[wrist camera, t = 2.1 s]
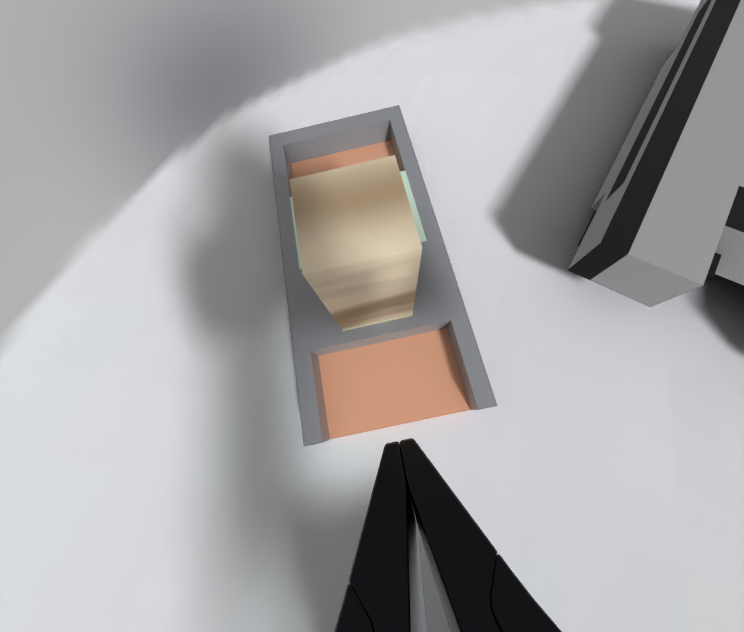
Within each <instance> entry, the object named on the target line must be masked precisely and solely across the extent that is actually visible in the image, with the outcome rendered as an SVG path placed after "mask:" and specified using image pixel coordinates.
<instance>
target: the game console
mask: <svg viewBox="0 0 744 632" xmlns="http://www.w3.org/2000/svg"><path fill="white" fill-rule="evenodd" d="M591 209H594V210H595V212H594V214H593V216H592V218H591V220H590V222H589V224H588V226H587V228H586V230H585V232H584V234H583V236H582V238H581V240H580V242H579V244H578V246H579V248H578V250H577V252H576V254H575V256H574V258H573V260H572V262H571V264H570V266H569V268H568V270H569V271H571V272H573V273H575V274H578V275H580V276H582V277H584V278H587V279H589V280H591V281H593V282H595V283H598V284H600V285H602V286H604V287H607V288H609V289H611V290H613V291H616V292H618V293H620V294H622V295H624V296H627V297H629V298H631V299H633V300H636V301H638V302H640V303H642V304H645V305H647V306H649V307H651V306H654V305H656V304H659V303H661V302H664V301H666V300H669V299H671V298H674V297H676V296H678V295H681V294H683V293H686V292H688V291H691V290H693V289H696V288H698V287H701V286H703V285H704V282H705V280H707V279H710V278H712V277H714V275H715V274H716V275H719V276H721V277H724V278H726V279H729V280H731V281H734V282H736V283H739V284H741V285H744V0H701V1H700V3H699V5H698V8H697V10H696V12H695V14H694V16H693V18H692V20H691V22H690V24H689V26H688V28H687V30H686V32H685V34H684V36H683V38H682V40H681V42H680V43H679V44H678V46H677V47H676V48H675V50H674V51H673V52H672V54H671V55H670V56H669V57H668V59H667V60H666V61H665V63H664V64H663V66H662V68H661V70H660V72H659V74H658V76H657V78H656V79H655V81H654V83H653V85H652V87H651V89H650V91H649V93H648V95H647V97H646V99H645V101H644V103H643V105H642V107H641V109H640V111H639V113H638V115H637V117H636V119H635V121H634V123H633V125H632V127H631V129H630V131H629V133H628V135H627V137H626V139H625V141H624V143H623V145H622V147H621V149H620V151H619V153H618V155H617V157H616V159H615V161H614V163H613V165H612V167H611V169H610V171H609V173H608V175H607V177H606V179H605V181H604V183H603V185H602V187H601V189H600V191H599V193H598V195H597V197H596V199H595V201H594V203H593V205H592V207H591Z"/></svg>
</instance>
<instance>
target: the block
mask: <svg viewBox="0 0 744 632" xmlns="http://www.w3.org/2000/svg"><path fill="white" fill-rule="evenodd" d="M290 186H291V193H292V201H293V208H294V216H295V223H296V230H297V238H298V245H299V253H300V260H301V267H302V274H303V276H304V277H305V279H306V280H307V281H308V283H309V284H310V286H311V287H312V288H313V290H314V291H315V293H316V294H317V295H318V297H319V298H320V300H321V301H322V302H323V304H324V305H325V307H326V308H327V309H328V311H329V312H330V313H331V315H332V316H333V318H334V319H335V320H336V322H337V323H338V325H339V326H340V327H341V329H342V330H343V331H345V330H350V329H354V328H359V327H363V326H368V325H373V324H377V323H382V322H386V321H391V320H395V319H400V318H405V317H409V316H412V315H413V308H414V301H415V294H416V288H417V281H418V274H419V267H420V260H421V254H422V244H421V241H420V238H419V234H418V231H417V228H416V224H415V221H414V217H413V214H412V211H411V207H410V204H409V201H408V197H407V194H406V190H405V187H404V184H403V180H402V177H401V174H400V170H399V167H398V164H397V160H396V157H395V155H393V156H389V157H384V158H380V159H376V160H371V161H367V162H363V163H358V164H354V165H350V166H345V167H341V168H337V169H332V170H328V171H324V172H319V173H315V174H311V175H307V176H302V177H298V178H294V179H290Z"/></svg>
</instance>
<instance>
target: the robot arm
mask: <svg viewBox="0 0 744 632" xmlns="http://www.w3.org/2000/svg"><path fill="white" fill-rule="evenodd" d="M400 447H401V448H400ZM413 508H414V509H413ZM414 512H415V514H414ZM415 517H416V519H415ZM416 521H417V525H418V528H419V532H420V535H421V538H422V541H423V544H424V548H425V551H426V554H427V557H428V560H429V563H430V566H431V570H432V573H433V576H434V579H435V582H436V585H437V589H438V592H439V595H440V598H441V601H442V604H443V608H444V611H445V614H446V617H447V620H448V623H449V626H450V630H451V632H561V630H560V629H559V628H558V627H557V626H556V625H555V623H554V622H553V621H552V620H551V619H550V617H549V616H548V615H547V614H546V613H545V612H544V610H543V609H542V608H541V607H540V606H539V605H538V603H537V602H536V601H535V600H534V599H533V597H532V596H531V595H530V594H529V592H528V591H527V590H526V588H525V587H524V586H523V585H522V583H521V582H520V581H519V579H518V578H517V577H516V576H515V574H514V573H513V572H512V570H511V569H510V568H509V566H508V565H507V564H506V562H505V561H504V560H503V558H502V557H501V556H500V555H499V554H498V555H497V550H496V549H495V548H494V546H493V545H492V544H491V542H490V541H489V540H488V538H487V537H486V536H485V534H484V533H483V532H482V530H481V529H480V528H479V526H478V525H477V524H476V522H475V521H474V519H473V518H472V517H471V515H470V514H469V513H468V511H467V510H466V509H465V507H464V506H463V505H462V503H461V502H460V501H459V499H458V498H457V497H456V495H455V494H454V493H453V491H452V490H451V489H450V487H449V486H448V484H447V483H446V482H445V480H444V479H443V478H442V476H441V475H440V474H439V472H438V471H437V470H436V468H435V467H434V466H433V464H432V463H431V462H430V460H429V459H428V458H427V456H426V455H425V453H424V452H423V451H422V449H421V448H420V447H419V445H418V444H417V443H416V441H415V440H414V439H412V438H411V439H406V440H402V441H400V444H399V442H392V443H387V444H386V445H385V447H384V450H383V454H382V458H381V461H380V465H379V469H378V473H377V476H376V480H375V484H374V488H373V491H372V495H371V499H370V503H369V506H368V510H367V514H366V518H365V522H364V525H363V529H362V533H361V537H360V540H359V544H358V548H357V552H356V555H355V559H354V563H353V567H352V570H351V574H350V578H349V583H350V584H348V585H347V589H346V592H345V596H344V600H343V604H342V607H341V611H340V614H339V618H338V621H337V624H336V628H335V631H334V632H427V624H426V614H425V604H424V594H423V584H422V574H421V563H420V553H419V543H418V533H417V525H416Z"/></svg>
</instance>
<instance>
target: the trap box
mask: <svg viewBox="0 0 744 632" xmlns="http://www.w3.org/2000/svg"><path fill="white" fill-rule="evenodd" d="M269 141H270V150H271V158H272V167H273V176H274V185H275V194H276V203H277V212H278V221H279V230H280V238H281V247H282V256H283V265H284V274H285V283H286V292H287V301H288V309H289V318H290V327H291V336H292V345H293V354H294V363H295V372H296V381H297V389H298V398H299V407H300V416H301V425H302V434H303V443H304V446H308V445H313V444H318V443H322V442H325V441H327V440H329V439H333V438H338V437H342V436H347V435H352V434H357V433H361V432H366V431H371V430H376V429H381V428H385V427H390V426H395V425H400V424H404V423H409V422H414V421H419V420H423V419H428V418H433V417H438V416H442V415H447V414H452V413H457V412H461V411H466V410H479V409H484V408H489V407H494V406H497V404H496V400H495V397H494V394H493V391H492V388H491V385H490V382H489V379H488V376H487V373H486V370H485V367H484V364H483V361H482V358H481V355H480V351H479V348H478V345H477V342H476V339H475V336H474V333H473V330H472V327H471V324H470V321H469V318H468V315H467V312H466V309H465V306H464V302H463V299H462V296H461V293H460V290H459V287H458V284H457V281H456V278H455V275H454V272H453V269H452V266H451V263H450V260H449V257H448V253H447V250H446V247H445V244H444V241H443V238H442V235H441V232H440V229H439V226H438V223H437V220H436V217H435V214H434V211H433V208H432V205H431V201H430V198H429V195H428V192H427V189H426V186H425V183H424V180H423V177H422V174H421V171H420V168H419V165H418V162H417V159H416V156H415V152H414V149H413V146H412V143H411V140H410V137H409V134H408V131H407V128H406V125H405V122H404V119H403V116H402V113H401V110H400V107H399V105H398V106H394V107H390V108H385V109H381V110H377V111H373V112H368V113H364V114H360V115H356V116H351V117H347V118H343V119H339V120H334V121H330V122H326V123H322V124H317V125H313V126H309V127H305V128H300V129H296V130H292V131H288V132H283V133H279V134H275V135H271V136H269ZM393 155H395V157H396V160H397V164H398V167H399V170H400V174H401V177H402V180H403V184H404V187H405V190H406V194H407V197H408V201H409V204H410V207H411V211H412V214H413V217H414V221H415V224H416V228H417V231H418V234H419V238H420V241H421V244H422V254H421V260H420V267H419V274H418V281H417V288H416V294H415V301H414V308H413V315H412V316H409V317H405V318H400V319H395V320H391V321H386V322H382V323H377V324H373V325H368V326H363V327H359V328H354V329H350V330H345V331H343V330H342V329H341V327H340V326H339V325H338V323H337V322H336V320H335V319H334V318H333V316H332V315H331V313H330V312H329V311H328V309H327V308H326V307H325V305H324V304H323V302H322V301H321V300H320V298H319V297H318V295H317V294H316V293H315V291H314V290H313V288H312V287H311V286H310V284H309V283H308V281H307V280H306V279H305V277H304V276H303V274H302V267H301V260H300V253H299V245H298V238H297V230H296V223H295V216H294V208H293V201H292V193H291V186H290V179H294V178H298V177H302V176H307V175H311V174H315V173H319V172H324V171H328V170H332V169H337V168H341V167H345V166H350V165H354V164H358V163H363V162H367V161H371V160H376V159H380V158H384V157H389V156H393Z"/></svg>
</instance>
